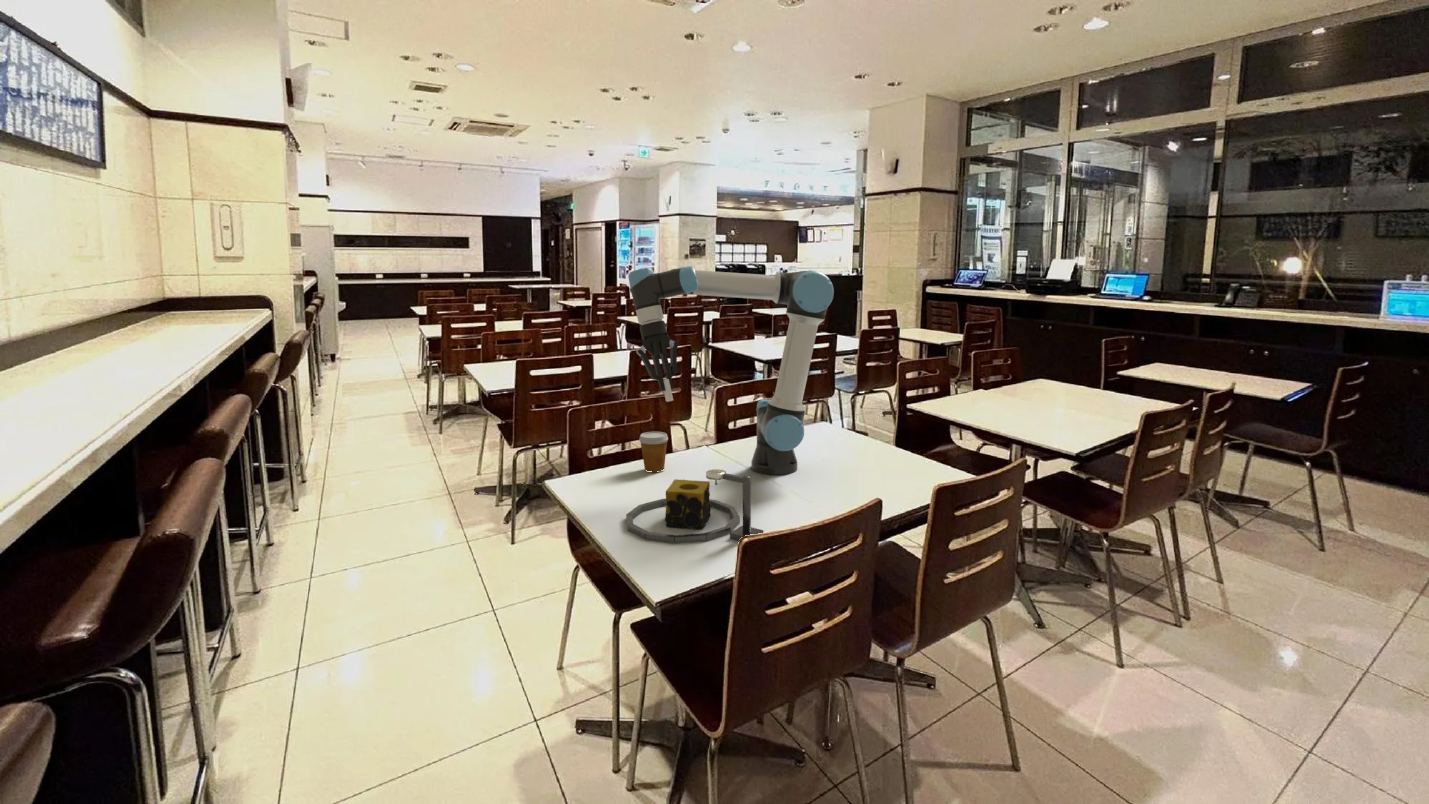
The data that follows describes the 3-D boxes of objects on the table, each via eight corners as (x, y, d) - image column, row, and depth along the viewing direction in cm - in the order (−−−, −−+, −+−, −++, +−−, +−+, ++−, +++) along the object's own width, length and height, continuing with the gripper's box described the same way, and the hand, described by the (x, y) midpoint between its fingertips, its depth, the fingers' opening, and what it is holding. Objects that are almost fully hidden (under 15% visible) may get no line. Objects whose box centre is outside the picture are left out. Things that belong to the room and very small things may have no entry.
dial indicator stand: (763, 535, 170) (763, 475, 167) (750, 543, 165) (750, 481, 162) (715, 524, 178) (714, 466, 175) (701, 531, 173) (700, 472, 170)
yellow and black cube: (674, 514, 185) (673, 478, 183) (711, 516, 183) (710, 480, 181) (664, 528, 176) (663, 490, 174) (703, 530, 174) (702, 492, 172)
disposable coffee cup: (671, 466, 230) (670, 431, 228) (666, 474, 221) (665, 438, 218) (643, 465, 231) (642, 431, 229) (637, 474, 222) (636, 438, 219)
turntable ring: (726, 499, 196) (726, 494, 196) (749, 537, 168) (749, 532, 168) (624, 506, 191) (624, 501, 191) (630, 547, 163) (630, 541, 163)
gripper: (668, 319, 206) (685, 396, 208) (627, 328, 201) (645, 406, 203) (676, 316, 199) (694, 395, 201) (633, 325, 195) (652, 406, 197)
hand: (669, 400), depth 202 cm, fingers closed
